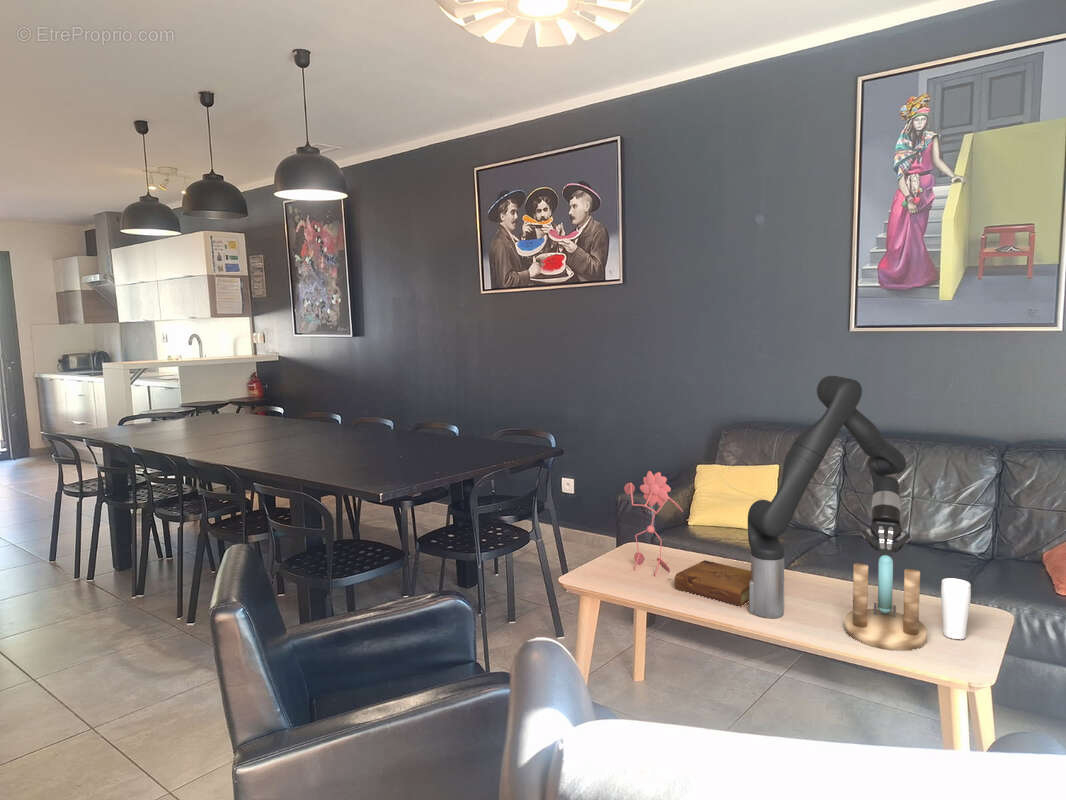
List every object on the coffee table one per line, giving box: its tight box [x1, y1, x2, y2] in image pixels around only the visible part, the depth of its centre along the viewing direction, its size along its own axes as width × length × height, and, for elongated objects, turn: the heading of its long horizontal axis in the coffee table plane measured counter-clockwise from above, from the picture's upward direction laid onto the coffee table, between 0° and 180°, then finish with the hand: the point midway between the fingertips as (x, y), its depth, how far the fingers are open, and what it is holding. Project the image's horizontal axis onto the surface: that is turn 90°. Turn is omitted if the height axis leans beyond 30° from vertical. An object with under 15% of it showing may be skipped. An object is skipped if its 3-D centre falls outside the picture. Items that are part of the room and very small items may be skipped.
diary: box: [674, 559, 751, 608], centre depth 223 cm, size 23×19×6 cm
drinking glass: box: [940, 577, 972, 641], centre depth 185 cm, size 7×7×15 cm
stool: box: [843, 562, 928, 652], centre depth 187 cm, size 20×20×20 cm
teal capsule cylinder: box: [877, 555, 894, 614], centre depth 193 cm, size 4×4×17 cm
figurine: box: [623, 470, 684, 581], centre depth 244 cm, size 15×26×35 cm, turn 43°
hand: (885, 563), depth 195 cm, fingers closed
